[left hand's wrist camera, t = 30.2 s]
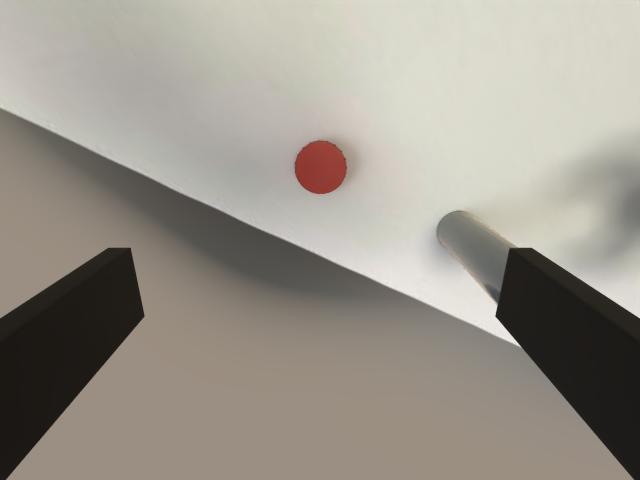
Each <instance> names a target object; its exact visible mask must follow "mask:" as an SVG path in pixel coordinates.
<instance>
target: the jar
mask: <svg viewBox="0 0 640 480" xmlns="http://www.w3.org/2000/svg"><path fill="white" fill-rule="evenodd" d="M437 237H438V240H439V241H440V243H441V244H442V245H443V246H444V247H445V248H446V249H447V250H448V252H449V253H450V254H451V255H452V256H453V257H454V258H455V259H456V260H457V261H458V263H459V264H460V265H461V266H462V267H463V268H464V269H465V270H466V271H467V272H468V274H469V275H470V276H471V277H472V278H473V279H474V280H475V281H476V282H477V284H478V285H479V286H480V287H481V288H482V289H483V290H484V291H485V292H486V293H487V295H488V296H489V297H490V298H491V299H492V300H493V301H494V302H495V303H496V305H497V306H498V301H499V296H500V292H501V287H502V282H503V277H504V272H505V267H506V262H507V257H508V252H509V248H518V247H517V246H515V245H514V244H512V243H511V242H510V241H508V240H507V239H505V238H504V237H502V236H501V235H499V234H498V233H497V232H495V231H494V230H492V229H491V228H489V227H488V226H487V225H485V224H484V223H482V222H481V221H479V220H478V219H476V218H475V217H474V216H472V215H471V214H469V213H467V212H464V211H455V212H452V213H450V214H448V215H446V216H445V217H444V218H443V219H442V220H441V221H440V223H439V225H438V228H437Z"/></svg>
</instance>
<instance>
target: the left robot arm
mask: <svg viewBox="0 0 640 480" xmlns="http://www.w3.org/2000/svg"><path fill="white" fill-rule="evenodd" d="M143 318H144V311H143V306H142V301H141V296H140V292H139V287H138V282H137V277H136V272H135V267H134V262H133V257H132V252H131V248H107V249H106V250H104V251H103V252H101V253H100V254H98V255H97V256H95V257H94V258H92V259H91V260H89V261H88V262H86V263H84V264H83V265H81V266H80V267H78V268H77V269H75V270H74V271H72V272H71V273H69V274H68V275H66V276H65V277H63V278H62V279H60V280H58V281H57V282H55V283H54V284H52V285H51V286H49V287H48V288H46V289H45V290H43V291H42V292H40V293H39V294H37V295H36V296H34V297H32V298H31V299H29V300H28V301H26V302H25V303H23V304H22V305H20V306H19V307H17V308H16V309H14V310H12V311H11V312H9V313H8V314H6V315H5V316H3V317H2V318H0V480H6V479H7V478H8V476H9V475H10V474H11V473H12V472H13V471H14V469H15V468H16V467H17V466H18V465H19V464H20V462H21V461H22V460H23V459H24V458H25V456H26V455H27V454H28V453H29V452H30V451H31V449H32V448H33V447H34V446H35V445H36V444H37V442H38V441H39V440H40V439H41V438H42V436H43V435H44V434H45V433H46V432H47V431H48V429H49V428H50V427H51V426H52V425H53V424H54V422H55V421H56V420H57V419H58V418H59V416H60V415H61V414H62V413H63V412H64V411H65V409H66V408H67V407H68V406H69V405H70V404H71V402H72V401H73V400H74V399H75V398H76V396H77V395H78V394H79V393H80V392H81V391H82V389H83V388H84V387H85V386H86V385H87V383H88V382H89V381H90V380H91V379H92V378H93V376H94V375H95V374H96V373H97V372H98V371H99V369H100V368H101V367H102V366H103V365H104V363H105V362H106V361H107V360H108V359H109V358H110V356H111V355H112V354H113V353H114V352H115V351H116V349H117V348H118V347H119V346H120V345H121V343H122V342H123V341H124V340H125V339H126V338H127V336H128V335H129V334H130V333H131V332H132V331H133V329H134V328H135V327H136V326H137V325H138V323H139V322H140V321H141V320H142V319H143ZM496 318H497V319H498V320H499V321H500V322H501V323H502V325H503V326H504V327H505V328H506V329H507V331H508V332H509V333H510V334H511V335H512V336H513V338H514V339H515V340H516V341H517V342H518V343H519V345H520V346H521V347H522V348H523V349H524V351H525V352H526V353H527V354H528V355H529V356H530V358H531V359H532V360H533V361H534V362H535V363H536V365H537V366H538V367H539V368H540V369H541V371H542V372H543V373H544V374H545V375H546V376H547V378H548V379H549V380H550V381H551V382H552V383H553V385H554V386H555V387H556V388H557V389H558V391H559V392H560V393H561V394H562V395H563V396H564V398H565V399H566V400H567V401H568V402H569V403H570V405H571V406H572V407H573V408H574V409H575V411H576V412H577V413H578V414H579V415H580V416H581V418H582V419H583V420H584V421H585V422H586V423H587V425H588V426H589V427H590V428H591V429H592V431H593V432H594V433H595V434H596V435H597V436H598V438H599V439H600V440H601V441H602V442H603V444H604V445H605V446H606V447H607V448H608V449H609V451H610V452H611V453H612V454H613V455H614V456H615V458H616V459H617V460H618V461H619V462H620V464H621V465H622V466H623V467H624V468H625V469H626V471H627V472H628V473H629V474H630V475H631V477H632V478H633V479H634V480H640V318H638V317H637V316H635V315H634V314H632V313H631V312H629V311H628V310H626V309H624V308H623V307H621V306H620V305H618V304H617V303H615V302H614V301H612V300H611V299H609V298H608V297H606V296H605V295H603V294H601V293H600V292H598V291H597V290H595V289H594V288H592V287H591V286H589V285H588V284H586V283H585V282H583V281H582V280H580V279H579V278H577V277H575V276H574V275H572V274H571V273H569V272H568V271H566V270H565V269H563V268H562V267H560V266H559V265H557V264H556V263H554V262H552V261H551V260H549V259H548V258H546V257H545V256H543V255H542V254H540V253H539V252H537V251H536V250H534V249H533V248H509V252H508V257H507V262H506V267H505V272H504V277H503V282H502V287H501V292H500V296H499V301H498V306H497V311H496Z"/></svg>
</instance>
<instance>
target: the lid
mask: <svg viewBox="0 0 640 480" xmlns="http://www.w3.org/2000/svg"><path fill="white" fill-rule="evenodd" d="M341 152H342V151H341V150H339V149H338V148H337V147H336V145H335V144H334V145H333V144H331V143H329V142H328V141H327V142H325V141H319V140H318V141H316V142H312V143H311V142H310V144H308V145H307V146H305V147H303V148H302V150H301V152H300V153H299V154H298V155H297V156H298V157H297V160H296V162H295V173H296V176H297V179H298V181H299V182H300V184H301V185H302V186H303V187H304V188H305V189H307V190H308V191H310V192H313V193H316V194H325V193H329V192H331V191H333V190H335V189H336V188H337V187H339V186H340V184H341V183H342V182H343V180H344V177H345V174H346V169H347V167H346V162H345V160H346V159H345V158H344V156H343V154H342V153H341Z"/></svg>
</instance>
